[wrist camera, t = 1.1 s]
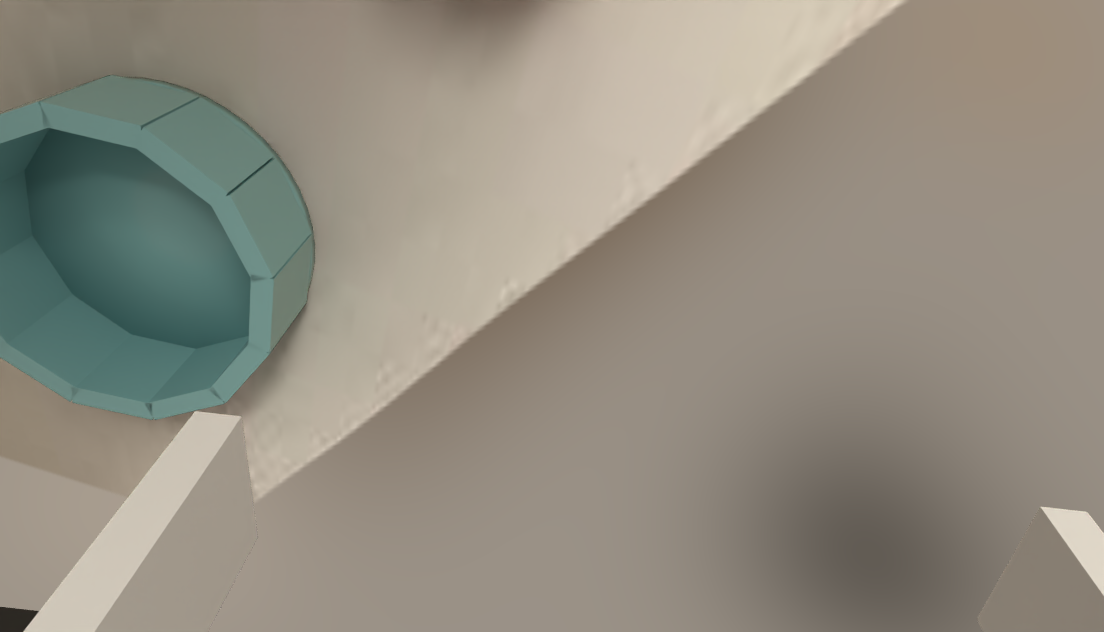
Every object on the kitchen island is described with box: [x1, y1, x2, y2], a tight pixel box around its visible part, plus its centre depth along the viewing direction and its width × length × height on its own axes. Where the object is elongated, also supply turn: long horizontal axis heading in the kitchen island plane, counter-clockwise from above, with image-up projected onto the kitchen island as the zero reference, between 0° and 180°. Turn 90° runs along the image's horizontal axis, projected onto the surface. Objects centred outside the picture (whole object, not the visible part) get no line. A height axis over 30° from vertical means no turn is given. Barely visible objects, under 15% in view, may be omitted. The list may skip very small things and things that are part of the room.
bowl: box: [0, 75, 315, 420], centre depth 36 cm, size 15×15×6 cm
